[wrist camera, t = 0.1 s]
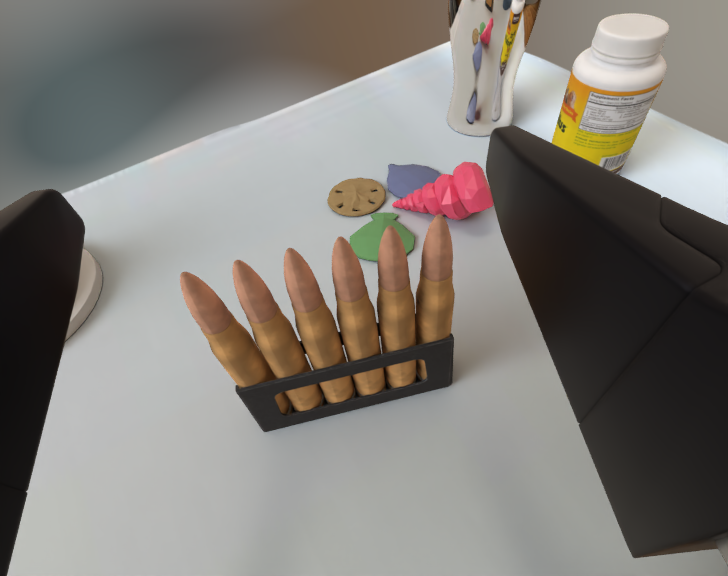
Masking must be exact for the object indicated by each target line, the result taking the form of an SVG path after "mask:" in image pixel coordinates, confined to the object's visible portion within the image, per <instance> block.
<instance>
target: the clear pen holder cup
mask: <svg viewBox="0 0 728 576" xmlns="http://www.w3.org/2000/svg"><path fill="white" fill-rule="evenodd" d="M540 3H541V0H448V15H449V30H450V40H451V49H452V59H453V70H454V83H453V92H452V97H451V102H450V105H449V109H448V113H447V122H448V124H449V126H450V127H451V128H452V129H454V130H455V131H457V132H459V133H462V134H466V135H471V136H487V135H491V133H492V131H493V129H495V128H497V127H504V126H510V124H511V122H512V120H513V90H514V83H515V79H516V75H517V71H518V68H519V65H520V62H521V59H522V56H523V54H524V51H525V48H526V45H527V43H528V40H529V37H530V33H531V31H532V28H533V26H534V22H535V20H536V16H537V13H538V10H539V7H540Z"/></svg>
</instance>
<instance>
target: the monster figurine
mask: <svg viewBox="0 0 728 576" xmlns="http://www.w3.org/2000/svg"><path fill="white" fill-rule="evenodd" d="M102 279H103V278H102V270H101V268H100V266H99V264H98V262H97V261H96V260H95V259H94V257H93V256H92V255H91V254H90V253H89V252H88V251H87V250H86V249H84V248H83V251H82V260H81V268H80V276H79V284H78V290H77V295H76V299H75V303H74V307H73V311H72V315H71V319H70V323H69V327H68V331H67V335H66V339H65V341H66V340H67V339H68V338H69V337H70V336H71V335H72V334H73V333H74V332H75V331H76V330H77V329H78V328H79V327H80V326H81V324H82V323H83V322H84V321H85V320H86V318H87V317H88V315H89V314H90V312H91V311H92V309H93V308H94V306H95V304H96V302H97V300H98V298H99V294H100V291H101V288H102Z"/></svg>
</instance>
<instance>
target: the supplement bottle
mask: <svg viewBox="0 0 728 576" xmlns="http://www.w3.org/2000/svg"><path fill="white" fill-rule="evenodd" d="M668 31H669V26H668V24H667V23H666V22H665V21H664V20H662V19H660V18H657V17H654V16H650V15H645V14H633V13H630V14H618V15H613V16H610V17H607V18H605V19H603V20H602V21H601V22H600V23H599V25H598V27H597V30H596V33H595V36H594V39H593V41H592V46H591V48H588V49H586V50H585V51H583V52H582V53H581V54H580V55H579V56H578V57H577V59H576V60H575V62H574V65H573V68H572V71H571V75H570V78H569V82H568V86H567V89H566V93H565V96H564V100H563V104H562V107H561V111H560V115H559V118H558V122H557V125H556V129H555V132H554V136H553V140H552V144H554V145H556V146H558V147H561V148H563V149H565V150H567V151H569V152H571V153H573V154H575V155H577V156H580V157H582V158H584V159H586V160H588V161H590V162H592V163H594V164H596V165H599V166H601V167H603V168H605V169H607V170H609V171H611V172H613V173H615V174H618V173H619V172H620V170H621V169H622V167H623V165H624V163H625V161H626V159H627V157H628V155H629V153H630V150H631V148H632V146H633V144H634V142H635V140H636V137H637V135H638V133H639V131H640V129H641V127H642V124H643V122H644V120H645V118H646V115H647V113H648V111H649V109H650V107H651V105H652V103H653V100H654V98H655V96H656V94H657V92H658V89H659V87H660V85H661V83H662V81H663V78H664V75H665V73H666V67H667V66H666V62H665V60H664V58H663V57H662V56H661V55H660V50H661V49H662V47H663V43H664V41H665V38H666V36H667V34H668Z"/></svg>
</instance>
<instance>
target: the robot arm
mask: <svg viewBox="0 0 728 576" xmlns="http://www.w3.org/2000/svg"><path fill="white" fill-rule="evenodd" d="M486 174H487V178H488V182H489V186H490V190H491V194H492V198H493V202H494V206H495V210H496V214H497V218H498V222H499V225H500V229H501V232H502V235H503V238H504V241H505V243H506V246H507V248H508V251H509V253H510V256H511V258H512V261H513V263H514V266H515V268H516V271H517V273H518V275H519V278H520V280H521V283H522V285H523V288H524V290H525V293H526V295H527V298H528V300H529V303H530V305H531V308H532V310H533V313H534V315H535V318H536V320H537V322H538V325H539V327H540V330H541V332H542V335H543V337H544V340H545V342H546V345H547V347H548V350H549V352H550V355H551V357H552V360H553V362H554V365H555V367H556V369H557V372H558V374H559V377H560V379H561V382H562V384H563V387H564V389H565V392H566V394H567V397H568V399H569V402H570V404H571V407H572V409H573V412H574V414H575V416H576V419H577V421H578V423H580V424H579V427H580V430H581V432H582V434H583V437H584V439H585V442H586V444H587V447H588V449H589V452H590V454H591V457H592V459H593V462H594V464H595V467H596V469H597V472H598V474H599V477H600V479H601V481H602V484H603V486H604V489H605V491H606V494H607V496H608V499H609V501H610V504H611V506H612V509H613V511H614V514H615V516H616V519H617V521H618V524H619V526H620V529H621V531H622V533H623V536H624V538H625V541H626V543H627V546H628V548H629V550H630V552H631V554H632V556H633V557H634V558H640V557H649V556H657V555H666V554H674V553H683V552H692V551H700V550H709V549H719V550H720V552H721V554H722V556H723V558H724V560H725V562H726V563H727V565H728V225H726V224H724V223H721V222H719V221H716V220H714V219H712V218H709V217H707V216H705V215H703V214H701V213H698V212H696V211H694V210H692V209H690V208H687V207H685V206H683V205H681V204H679V203H677V202H675V201H673V200H671V199H668V198H666V197H663V198H661V195H660V194H658V193H656V192H653V191H651V190H649V189H647V188H645V187H643V186H641V185H639V184H637V183H634V182H632V181H630V180H628V179H626V178H624V177H622V176H620V175H618V174H615V173H613V172H611V171H609V170H607V169H605V168H603V167H601V166H599V165H596V164H594V163H592V162H590V161H588V160H586V159H584V158H582V157H580V156H577V155H575V154H573V153H571V152H569V151H567V150H565V149H563V148H561V147H558V146H556V145H554V144H552V143H550V142H548V141H546V140H544V139H542V138H539V137H537V136H535V135H533V134H531V133H529V132H527V131H525V130H523V129H521V128H518V127H516V126H504V127H497V128H495V129H493V131H492V133H491V136H490V142H489V149H488V155H487V162H486ZM84 235H85V226H84V222H83V220H82V219H81V217H80V216H79V215H78V214H77V212H76V211H75V210H74V209H73V208H72V206H71V205H70V204H69V203H68V202H67V200H66V199H65V198H64V197H63V196H62V195H61V194H60V193H59V192H58V191H56V190H53V189H46V190H39V191H33V192H31V193H29V194H27V195H25V196H24V197H22V198H21V199H19V200H17V201H16V202H14V203H12V204H11V205H9V206H7V207H6V208H4V209H3V210H1V211H0V576H7V573H8V569H9V565H10V561H11V557H12V553H13V549H14V545H15V541H16V537H17V533H18V529H19V525H20V521H21V517H22V513H23V509H24V505H25V501H26V497H27V492H26V491H27V490H28V487H29V483H30V479H31V475H32V471H33V467H34V463H35V459H36V455H37V451H38V447H39V443H40V439H41V435H42V431H43V427H44V423H45V419H46V415H47V411H48V407H49V403H50V399H51V395H52V391H53V387H54V383H55V379H56V375H57V371H58V367H59V363H60V359H61V355H62V351H63V347H64V343H65V339H66V335H67V331H68V327H69V323H70V319H71V315H72V311H73V307H74V303H75V299H76V295H77V290H78V284H79V276H80V268H81V260H82V251H83V243H84Z"/></svg>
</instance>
